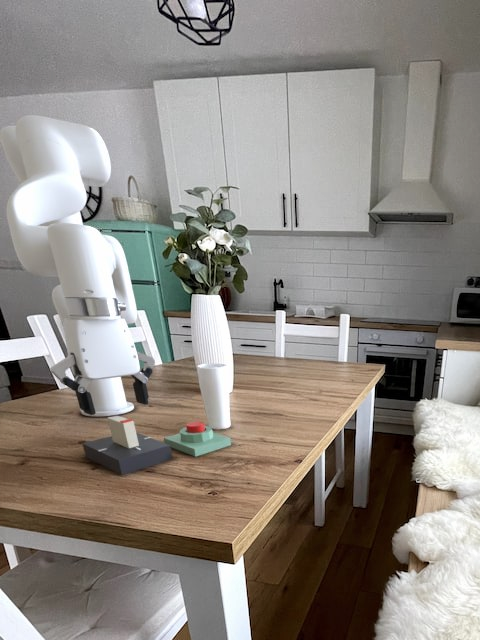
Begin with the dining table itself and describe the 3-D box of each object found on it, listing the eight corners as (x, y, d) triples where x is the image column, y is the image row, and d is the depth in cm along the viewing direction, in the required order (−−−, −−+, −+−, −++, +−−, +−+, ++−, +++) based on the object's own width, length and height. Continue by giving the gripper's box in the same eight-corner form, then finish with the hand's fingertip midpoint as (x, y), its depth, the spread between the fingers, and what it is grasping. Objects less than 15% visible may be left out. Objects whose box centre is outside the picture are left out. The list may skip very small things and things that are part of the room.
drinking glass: (225, 432, 95) (217, 368, 89) (199, 429, 96) (190, 367, 90) (238, 424, 101) (232, 364, 95) (214, 422, 102) (206, 362, 96)
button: (183, 432, 85) (182, 424, 84) (198, 428, 88) (197, 420, 87) (194, 435, 83) (192, 427, 82) (208, 431, 86) (207, 423, 85)
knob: (113, 441, 78) (106, 416, 76) (123, 439, 80) (117, 414, 78) (128, 448, 75) (122, 422, 73) (139, 445, 77) (133, 419, 75)
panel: (85, 457, 79) (81, 442, 77) (136, 443, 86) (133, 430, 85) (121, 475, 72) (117, 459, 70) (173, 458, 79) (170, 444, 78)
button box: (165, 445, 86) (162, 429, 85) (200, 434, 93) (198, 420, 91) (195, 456, 81) (192, 440, 79) (231, 444, 87) (229, 429, 86)
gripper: (133, 309, 76) (151, 397, 83) (24, 309, 63) (56, 414, 70) (154, 310, 72) (171, 402, 79) (43, 311, 59) (75, 421, 66)
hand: (117, 408), depth 74 cm, fingers open, 9 cm apart
